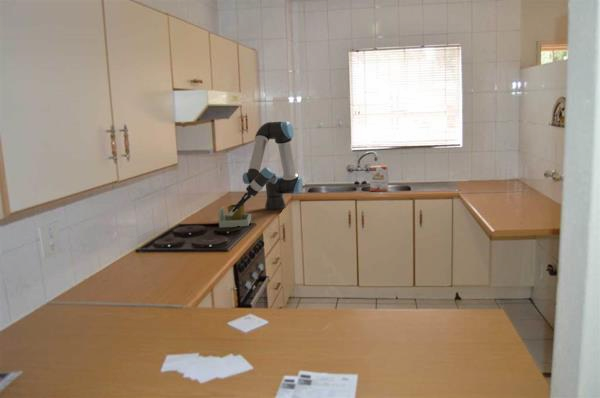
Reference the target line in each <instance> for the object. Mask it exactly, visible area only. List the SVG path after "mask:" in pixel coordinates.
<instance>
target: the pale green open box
mask: <svg viewBox="0 0 600 398" xmlns="http://www.w3.org/2000/svg"><path fill="white" fill-rule="evenodd" d="M217 212H218V213H217V214H218V220H219V221H218V227H219V229H221V228H234V227H235V228H237V226H240V227H249V225H250V223H251V222H252V214H251V213H244V215H243V217H242V219H240V220H232V219H231V218H230V216H229V214H226V210H225V206H222V207H221V208H220V209H219V210H218V211H217Z"/></svg>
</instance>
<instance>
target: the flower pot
mask: <svg viewBox="0 0 600 398" xmlns="http://www.w3.org/2000/svg"><path fill="white" fill-rule="evenodd" d="M234 205H235V204H231V205H229V206H227V211H228V212H227V213H229V212H230V211H231V210H232V209H233V208H234V207H235V206H234ZM244 214H245V203H244V204H242V205H241V206H240V207H239V209H238V210H237V211H236V212H235V213H234V214H233V215H232V217H231V216H230V215H229V214H228V215H229V216H230V218H231V219H232V220H240V219H242V217H243V215H244Z"/></svg>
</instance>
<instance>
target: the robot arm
mask: <svg viewBox="0 0 600 398" xmlns="http://www.w3.org/2000/svg"><path fill="white" fill-rule="evenodd" d="M294 134H295V133H294V127H293V124H292V123H291V122H290V121H284V120H283V121H273V122H272V121H270V122H266V123H264V124H262V125H261V126H260V127H259V128H258V130H257V131H256V133H255V136H254V141H255V142H254V146H253V150H252V154H251V159H250V162H249V166H248V169H247V172H243V174H242V182H243V183H244V184H245V185H247V187H246V188H245V190H246V191H247V192H245V193H244V194H243V195H242V196H241V199H240V200H239V201H238V202H237V203H236V204H233V205H234V206H235V207H234V208H233V209H232V210H231V211H230V212H227V215H230V216H231V217H232V215H233V214H234V213H235V212H236V211H237V210H238V209H239V207H240V206H241V205H242V204H244V205H245V204H246V202H247V201H248V200H249V199H251V197H252V196H253V197H256V196H257V194H258V193H259V192H260V191H261V190H263V188H264V187H265V192H266V200H265V203H264V208H265V210H268V211H269V210H270V211H276V210H283V209H286V207H287V205H286V203H285V200H284V197H283V195H286V194H287V195H295V194H296V195H297V194H300V193H301V191H302V188H303V179H302V177H300V176H299V174H298V173H297V172H296V168H295V161H294V157H293V151H292V145H291V142H292V139H293V138H294ZM269 140H274V142H275V143H276V144H277V146H278V153H279V157H280V163H281V166H282V167H281V169H282V173H283V175H277V173H275V172H274V171H273V170H272V169H271V168H269V167H268V166H264V167H263V168H262V169H261V167H262V162H263V159H264V155H265V151H266V146H267V144H268V143H269Z"/></svg>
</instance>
